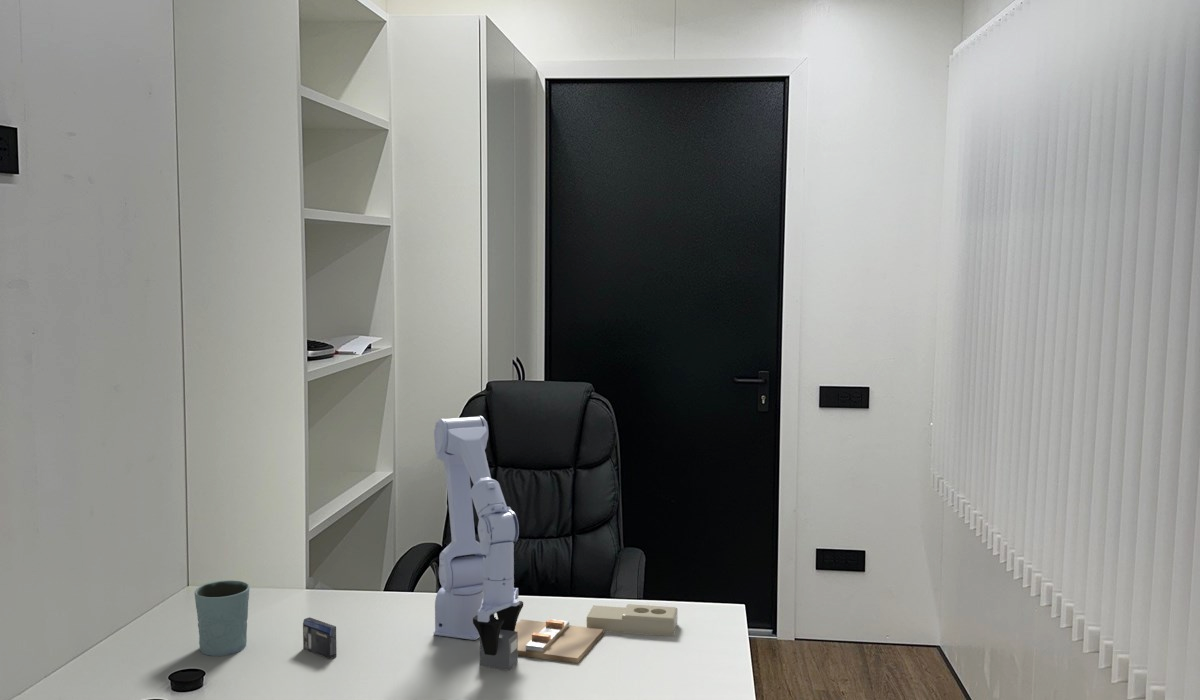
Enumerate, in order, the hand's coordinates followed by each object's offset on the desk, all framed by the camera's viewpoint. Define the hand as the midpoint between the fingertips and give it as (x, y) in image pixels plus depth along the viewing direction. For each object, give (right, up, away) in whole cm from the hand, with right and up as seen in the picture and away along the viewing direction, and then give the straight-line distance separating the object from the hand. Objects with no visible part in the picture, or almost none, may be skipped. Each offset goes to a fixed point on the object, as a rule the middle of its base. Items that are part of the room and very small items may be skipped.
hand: (498, 647), depth 192 cm
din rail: (+9, -2, +11) cm, 14 cm away
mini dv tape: (-35, -3, +5) cm, 36 cm away
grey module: (0, -3, 0) cm, 3 cm away
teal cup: (-54, -3, +8) cm, 55 cm away
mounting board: (+9, -2, +11) cm, 14 cm away
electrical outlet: (+26, -2, +20) cm, 33 cm away
